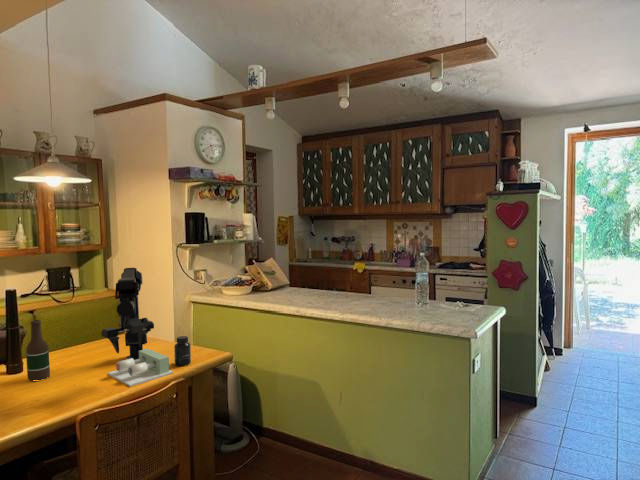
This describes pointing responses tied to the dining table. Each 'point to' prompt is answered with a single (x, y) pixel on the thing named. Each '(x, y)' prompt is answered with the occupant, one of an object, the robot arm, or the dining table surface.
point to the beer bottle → (37, 354)
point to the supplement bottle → (182, 351)
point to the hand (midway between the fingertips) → (129, 350)
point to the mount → (151, 374)
